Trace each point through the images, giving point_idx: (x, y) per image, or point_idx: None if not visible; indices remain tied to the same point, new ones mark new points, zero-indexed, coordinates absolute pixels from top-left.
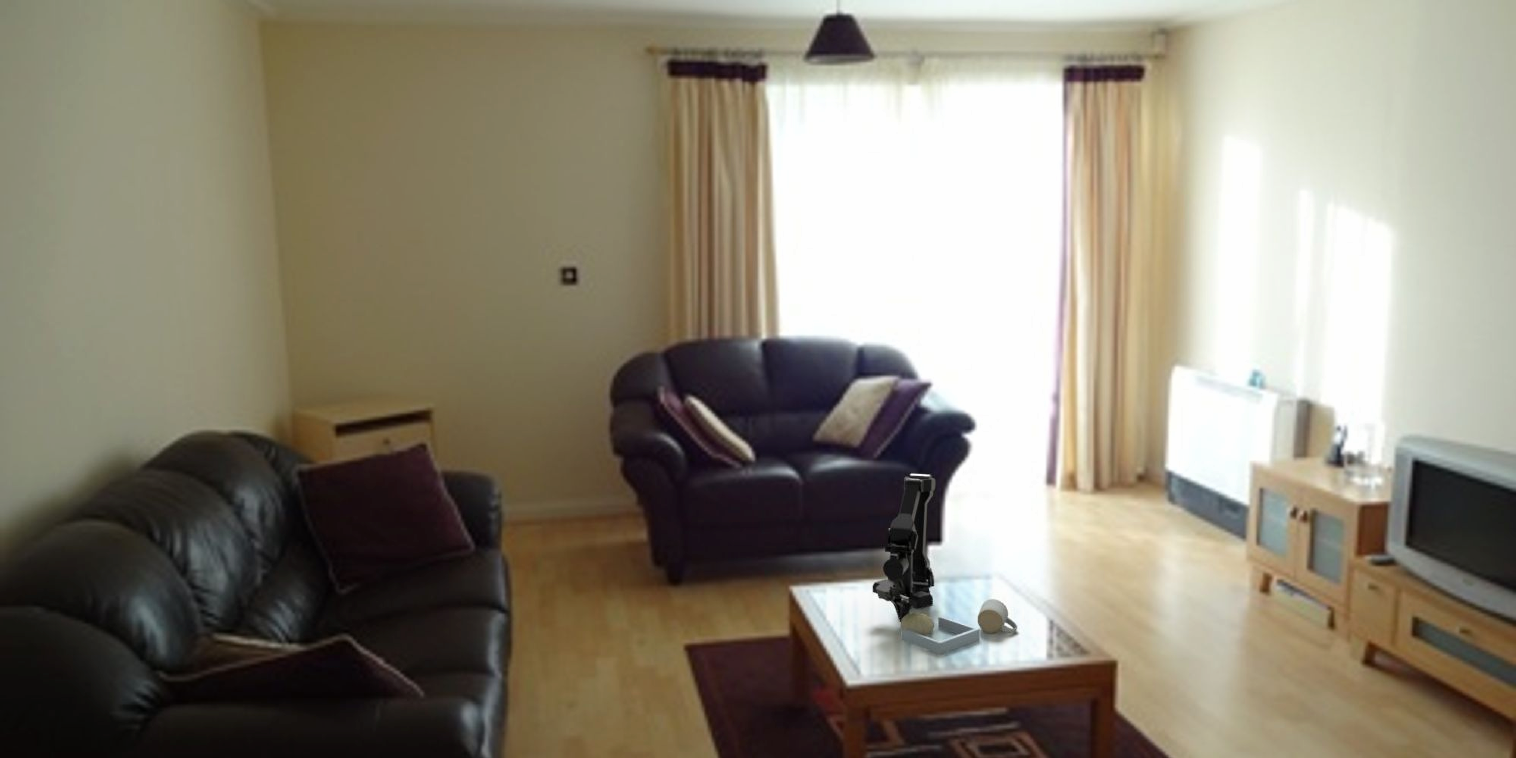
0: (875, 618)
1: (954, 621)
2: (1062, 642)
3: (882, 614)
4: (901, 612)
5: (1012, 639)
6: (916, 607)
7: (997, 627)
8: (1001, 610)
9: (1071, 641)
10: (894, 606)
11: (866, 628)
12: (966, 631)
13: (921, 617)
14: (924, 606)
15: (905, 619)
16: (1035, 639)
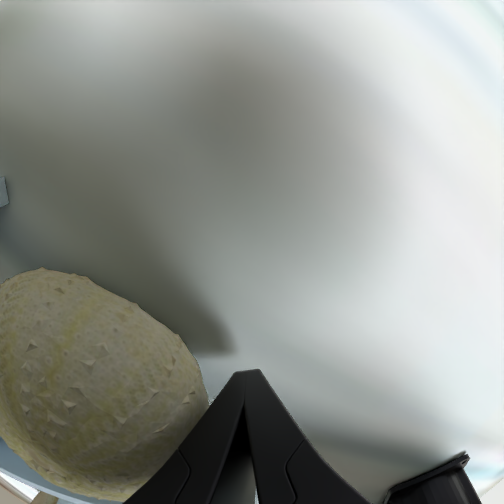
0: (490, 269)
1: (55, 493)
2: (12, 489)
3: (491, 343)
4: (191, 452)
5: None
6: (403, 485)
7: (34, 499)
8: None
9: (18, 496)
10: (341, 481)
11: (375, 51)
12: (15, 457)
13: (5, 441)
14: (385, 502)
15: (31, 360)
16: (21, 488)
